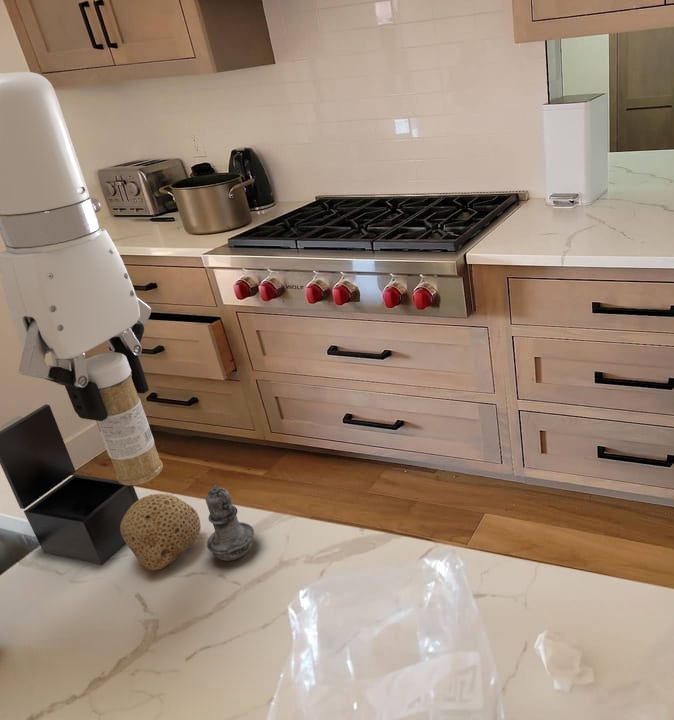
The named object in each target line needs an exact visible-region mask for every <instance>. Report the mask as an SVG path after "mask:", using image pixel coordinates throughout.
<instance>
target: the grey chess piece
mask: <svg viewBox="0 0 674 720" xmlns="http://www.w3.org/2000/svg"><path fill="white" fill-rule="evenodd" d="M205 502H206V505H207V508H208V511H209V514H208V522H209V523H211V524H212V526H213V529H214V532H213V533H211V535H210V536H209V537H208V539H207V541H206V547H207V550H208V551H209V552H211V553H212V554H213V555H214V556H215V557H216V558H217V559H219V560H222V561H236V560H238V559H240V558H242V557H244V556H245V555H246V554H247V553H248V552H249V551H250V549H251V548H252V545H253V540H254V534H255V529H254V527H253V526H252V525H250V524H249V523H246V522H239V519H238V516H237V514H238V508H237V507H236V505H233V501H232V498H231V495H230V493H229V491H228V490H227V489H226V488H224V487H218V486H217V485H216V484H212V486H211V490H209V491H208V492H207V494H206V496H205Z"/></svg>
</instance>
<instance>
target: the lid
mask: <svg viewBox="0 0 674 720" xmlns="http://www.w3.org/2000/svg"><path fill="white" fill-rule="evenodd" d="M0 467H1V469H2V471H3V474H4V475H5V478H6V480H7V482H8V484H9V487H10V489H11V491H12V494H13V495H14V498H15V500H16V502H17V504H18V506H19V509H21V510H26V509H28V508H29V507H30V506H32V505H33V504H34V503H36V502H37V501H39V500H40V499H41V498H43V497H44V496H45V495H47V494H48V493H50V492H51V491H52V490H54V489H55V488H56V487H58V486H59V485H61V484H62V483H63V482H65V481H66V480H68V479H69V478H70V477H72V476H73V475H74V474H76V471H77V470H76V469H75V466H74V463H73V461H72V459H71V456H70V454H69V451H68V448H67V446H66V444H65V440H64V438H63V435H62V433H61V431H60V428H59V425H58V422H57V420H56V417H55V416H54V413H53V411H52V407H51V405H50V404H48V403H46V404H44V405H42V406H40V407H39V408H37V409H35V410H34V411H32V412H30V413H28V414H27V415H25V416H24V417H23V416H21V415H17V416H15V417H13V418H11V419H10V420H8V421H6V422H4V423H3V424H1V425H0Z"/></svg>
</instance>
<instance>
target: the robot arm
mask: <svg viewBox="0 0 674 720" xmlns="http://www.w3.org/2000/svg"><path fill="white" fill-rule="evenodd" d="M101 209H102V207H101V203H100V202H99V200H98V199H97V198H94V197H91V196H90V192H89V189H88V186H87V183H86V180H85V177H84V174H83V171H82V167H81V165H80V162H79V158H78V155H77V153H76V150H75V148H74V144H73V141H72V138H71V135H70V132H69V129H68V126H67V122H66V120H65V117H64V113H63V111H62V107H61V105H60V101H59V99H58V96H57V94H56V91H55V89H54V86H53V85H52V83H51V82H50V80H48V78H46V77H45V76H43V75H42V74H40V73H37V72H32V71H15V72H14V71H13V72H0V237H1V240H2V242H3V245H4V248H5V250H4V251H3V250H2V251H1V252H0V280H1V285H2V288H3V294H4V297H5V301H6V304H7V308H8V310H9V315H10V317H11V319H12V323H13V326H14V329H15V332H16V334H17V337H18V340H19V343H20V345H21V347H22V354H21V358H20V362H19V367H18V372H19V374H20V375H22V376H27V377H32V378H39V379H44V380H47V381H50V382H53V383H55V384H56V385H58V386H64V388H65V390H66V392H67V395H68V397H69V400H70V403H71V405H72V408H73V410H74V412H75V414H77V416H78V418H79V419H83V420H90V421H95V422H96V421H103V420H105V419H106V418H107V416H108V413H107V411H106V408H105V405H104V403H103V400H102V397H101V395H100V392H99V389H98V387H97V384H96V383H95V382H88V372H87V364H86V359H87V358H86V352H89V351H90V350H92V349H94V348H97V347H98V346H100V345H102V344H104V343H106V344H107V345H108V347H109V348H110V351H112V352H117V353H122V354H124V355H125V356H126V358H127V360H128V363H129V366H130V368H131V374H132V377H131V378H132V380H133V383H134V386H135V389H136V391H137V394H144V395H145V394H146V393H147V392H149V390H150V388H149V385H148V383H147V379H146V376H145V373H144V370H143V367H142V364H141V361H140V358H139V356H140V355H141V354H142V351H143V347H142V345H141V342H142V338H143V335H144V332H145V326H147V323H148V321H149V318H150V316H151V315H152V314H151V313H152V308H151V307H150V306H149V305H148V304H147V303H146V302H144V301H142V300H141V299H140V298H139V297H138V296H137V294H136V290H135V288H134V286H133V282H132V280H131V278H130V275H129V272H128V270H127V268H126V265H125V264H124V260H123V259H122V257H121V254H120V253H119V250H118V249H117V247H116V245H115V243H114V241H113V240H112V238H111V236H110V234H109V232H108V231H107V229H106V228H105V227H101V225H100V223H99V219H98V217H97V213H99V212H100V211H101ZM50 352H51V353H50ZM49 353H50V354H51V361H52V365H51V364H47V362H46V355H47V354H49ZM69 362H70V363H69Z"/></svg>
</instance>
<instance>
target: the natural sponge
mask: <svg viewBox="0 0 674 720" xmlns="http://www.w3.org/2000/svg"><path fill="white" fill-rule="evenodd" d="M200 530H201V520H200V516H199V514H198V512H197V510H196V509H195V508H194V507H192V506H191V505H190V504H188V503H187V502H185V501H184V500H182V499H180V498H179V497H176V496H174V495H172V494H168V493H155V494H149V495H146V496H143V497H142V498H139V500H138V501H136V502H135V503H134V504H133V505H132V506H131V507H130V508H129V509H128V511H127V512H126V514H125V515H124V517H123V519H122V522H121V525H120V531H121V535H122V537H123V539H124V541H125V542H126V544H125V545H127V547H128V549H130V551H131V552H132V553H133V555H134V556H135V558H136V559H137V561H138V562H139V563H140V564H141V566H143V567H144V568H146V569H148V570H150V571H157V570H161V569H163V568H165V567H168V566H169V565H170V564H172V563H173V562H175V560H177V559H178V558H179V556H180V555H181V554H182V553H184V552H185V551H187V550H188V549H190V548H191V547H192V546H193V545H194V544H195V543H196V541H197V539H198V537H199V535H200Z"/></svg>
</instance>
